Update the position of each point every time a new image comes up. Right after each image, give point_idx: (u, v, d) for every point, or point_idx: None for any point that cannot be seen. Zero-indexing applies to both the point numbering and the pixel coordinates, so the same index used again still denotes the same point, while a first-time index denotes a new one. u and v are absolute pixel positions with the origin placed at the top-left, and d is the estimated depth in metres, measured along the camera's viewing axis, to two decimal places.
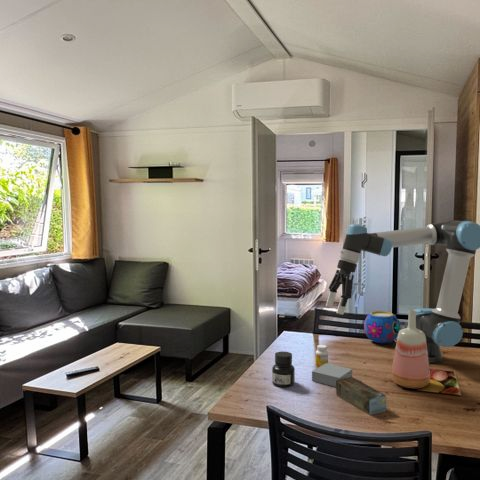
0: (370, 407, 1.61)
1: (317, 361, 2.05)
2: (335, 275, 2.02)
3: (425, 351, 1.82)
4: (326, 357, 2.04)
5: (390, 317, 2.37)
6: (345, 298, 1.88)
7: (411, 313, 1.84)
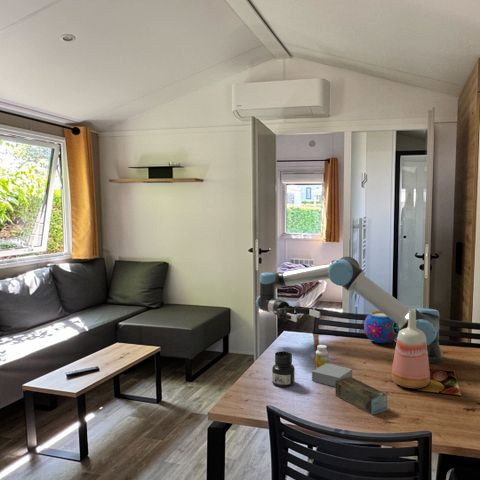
0: (372, 407, 1.61)
1: (317, 361, 2.05)
2: None
3: (425, 351, 1.82)
4: (326, 357, 2.04)
5: None
6: (284, 316, 2.14)
7: (411, 313, 1.84)
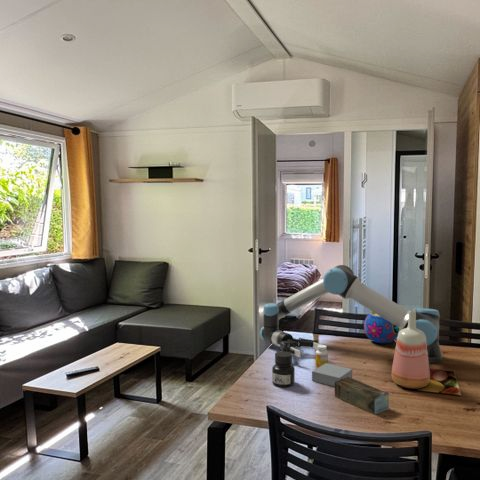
0: (375, 407, 1.61)
1: (317, 361, 2.05)
2: None
3: (425, 351, 1.82)
4: (326, 357, 2.04)
5: None
6: (287, 351, 2.12)
7: (411, 313, 1.84)
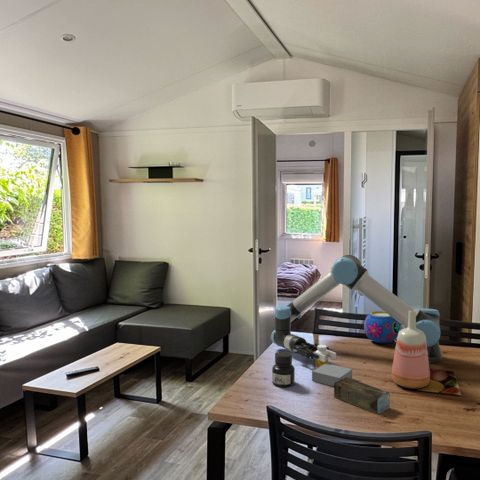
0: (378, 406, 1.62)
1: (317, 361, 2.05)
2: None
3: (425, 351, 1.82)
4: (326, 357, 2.04)
5: (390, 317, 2.37)
6: (311, 355, 2.05)
7: (411, 313, 1.84)
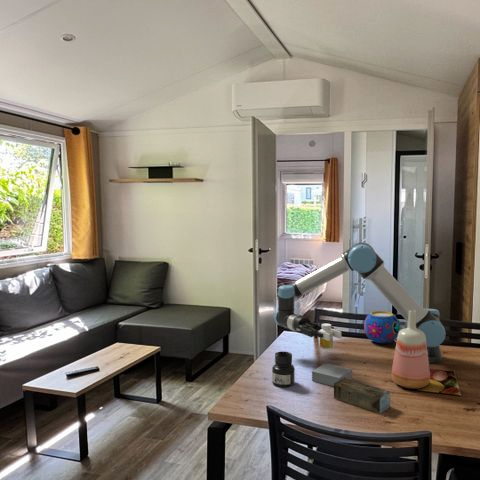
0: (380, 406, 1.62)
1: (321, 340, 1.96)
2: None
3: (425, 351, 1.82)
4: (331, 336, 1.95)
5: (390, 317, 2.37)
6: (315, 334, 1.96)
7: (411, 313, 1.84)
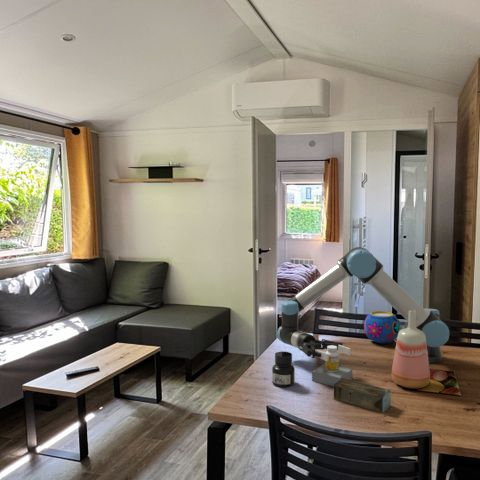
0: (383, 405, 1.63)
1: (327, 363, 1.91)
2: None
3: (425, 351, 1.82)
4: (337, 359, 1.90)
5: (390, 317, 2.37)
6: (313, 354, 1.90)
7: (411, 313, 1.84)
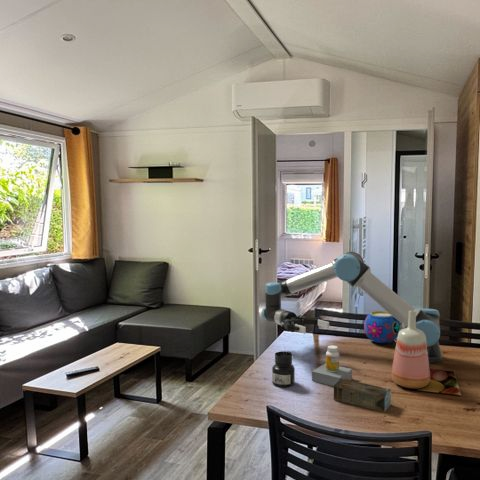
0: (385, 404, 1.63)
1: (327, 363, 1.91)
2: None
3: (425, 351, 1.82)
4: (337, 359, 1.90)
5: (390, 317, 2.37)
6: (291, 328, 2.06)
7: (411, 313, 1.84)
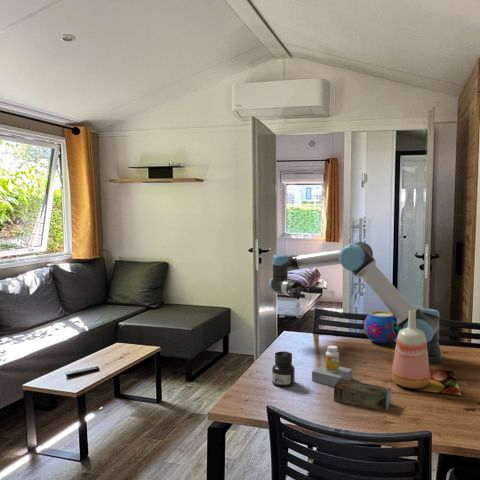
0: (386, 403, 1.64)
1: (327, 363, 1.91)
2: None
3: (425, 351, 1.82)
4: (337, 359, 1.90)
5: (390, 317, 2.37)
6: (297, 295, 2.15)
7: (411, 313, 1.84)
